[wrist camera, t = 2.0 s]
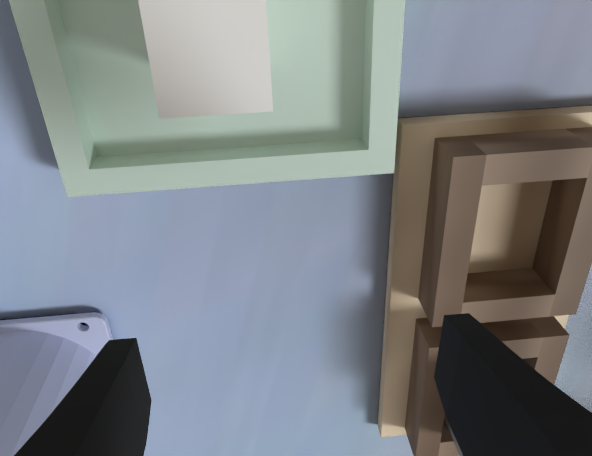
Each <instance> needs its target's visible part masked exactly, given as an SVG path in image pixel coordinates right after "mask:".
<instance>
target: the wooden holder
mask: <svg viewBox="0 0 592 456" xmlns="http://www.w3.org/2000/svg"><path fill="white" fill-rule="evenodd" d="M591 263H592V105H591V106H576V107H561V108H546V109H531V110H516V111H501V112H486V113H471V114H457V115H442V116H427V117H412V118H398V121H397V137H396V152H395V168H394V176H393V191H392V207H391V223H390V239H389V255H388V270H387V286H386V302H385V318H384V334H383V349H382V365H381V381H380V397H379V412H378V428H379V432H380V436H381V437H389V436H398V435H407V437H408V440H409V443H410V446H411V449H412V452H413V455H414V456H459V453H458V451H457V448H456V446H455V443H454V441H453V439H452V436H451V434H450V431H449V429H448V427H447V424H446V422H445V419H444V417H445V412H444V409H443V405H442V402H441V399H440V396H439V392H438V389H437V386H436V382H435V379H434V374H435V367H436V361H437V355H438V349H439V343H440V337H441V330H442V324H443V318H444V315H452V314H465V313H469V314H471V315H472V316H473V317H474V318H475V319H477V320H478V321H479V322H480V323H481V324H482V325H483V326H485V327H486V328H487V329H488V330H489V331H490V332H491V333H493V334H494V335H495V336H496V337H497V338H498V339H499V340H501V341H502V342H503V343H504V344H505V345H506V346H507V347H509V348H510V349H511V350H512V351H513V352H514V353H516V354H517V355H518V356H519V357H520V358H522V359H523V360H524V361H525V362H526V363H527V364H529V365H530V366H531V367H532V368H534V369H535V370H536V371H537V372H538V373H540V374H541V375H542V376H543V377H545V378H546V379H547V380H548V381H550V382H551V383H552V384H553V385H554V383H555V380H556V377H557V373H558V370H559V367H560V364H561V360H562V357H563V354H564V351H565V347H566V344H567V341H568V338H569V334H568V333H567V332H566V330H565V327H566V323H567V320H568V316H569V315H572V314H576V312H577V309H578V305H579V302H580V299H581V296H582V292H583V289H584V286H585V283H586V279H587V276H588V273H589V270H590V266H591Z"/></svg>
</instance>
